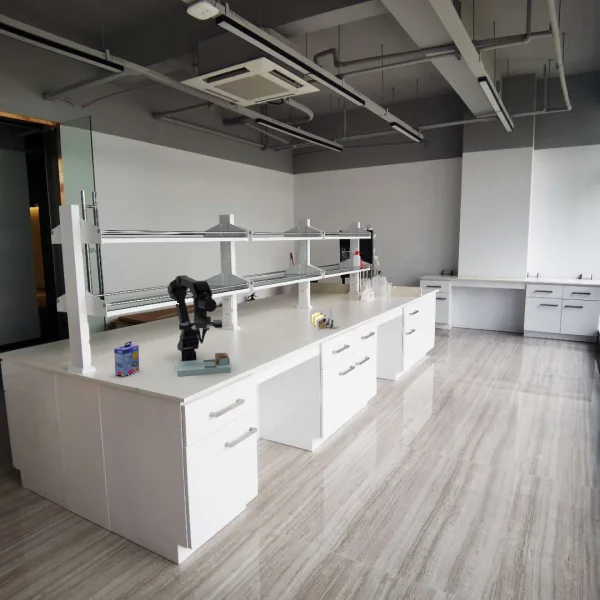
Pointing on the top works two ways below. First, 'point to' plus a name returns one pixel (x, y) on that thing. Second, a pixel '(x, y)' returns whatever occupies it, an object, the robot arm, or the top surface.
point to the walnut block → (219, 357)
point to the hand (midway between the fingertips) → (201, 343)
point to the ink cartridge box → (126, 359)
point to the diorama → (321, 319)
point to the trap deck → (203, 367)
